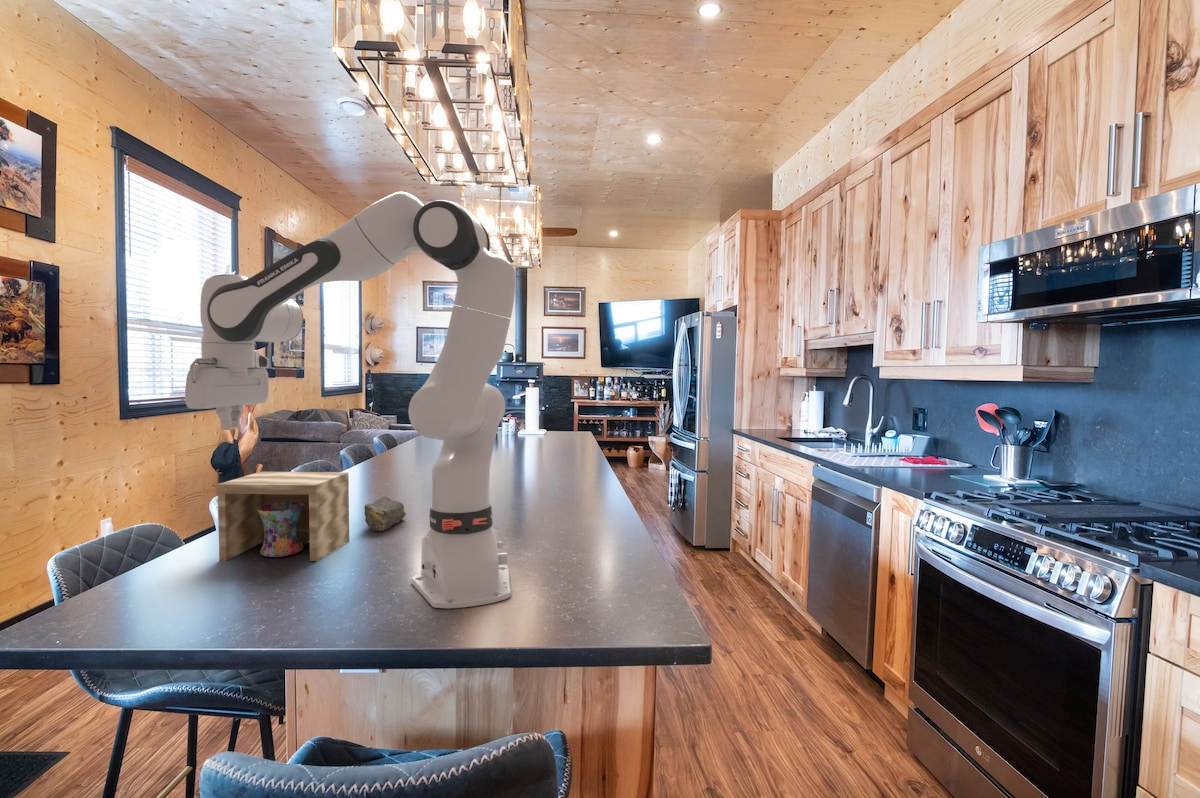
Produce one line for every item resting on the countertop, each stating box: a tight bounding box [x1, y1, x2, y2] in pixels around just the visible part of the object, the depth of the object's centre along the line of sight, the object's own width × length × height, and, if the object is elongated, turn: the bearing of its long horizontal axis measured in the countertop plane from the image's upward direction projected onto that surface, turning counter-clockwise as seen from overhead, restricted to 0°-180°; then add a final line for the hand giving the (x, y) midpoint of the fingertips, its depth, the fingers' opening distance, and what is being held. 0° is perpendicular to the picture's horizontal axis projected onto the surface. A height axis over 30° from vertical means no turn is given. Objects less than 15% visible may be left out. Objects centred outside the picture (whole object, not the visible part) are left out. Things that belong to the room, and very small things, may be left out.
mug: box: [257, 502, 305, 558], centre depth 131 cm, size 12×9×11 cm
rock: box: [364, 495, 407, 532], centre depth 154 cm, size 17×7×10 cm
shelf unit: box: [217, 471, 350, 562], centre depth 131 cm, size 16×21×16 cm
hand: (230, 429), depth 115 cm, fingers closed
